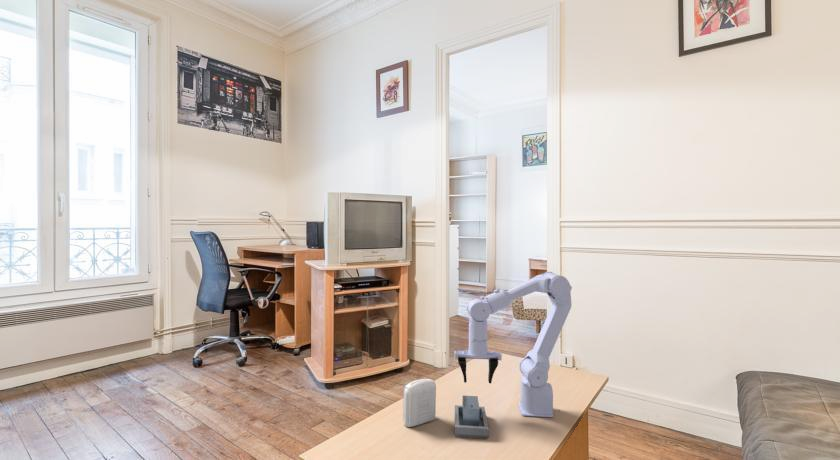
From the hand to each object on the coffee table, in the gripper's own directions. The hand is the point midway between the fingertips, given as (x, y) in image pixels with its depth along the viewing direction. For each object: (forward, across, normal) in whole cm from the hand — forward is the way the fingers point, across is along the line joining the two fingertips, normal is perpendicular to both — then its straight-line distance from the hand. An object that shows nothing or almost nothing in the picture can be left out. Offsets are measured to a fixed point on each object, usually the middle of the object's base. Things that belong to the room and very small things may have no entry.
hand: (477, 381), depth 121 cm
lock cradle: (+9, +3, +9) cm, 13 cm away
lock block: (+8, +3, +8) cm, 12 cm away
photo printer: (+10, +18, +8) cm, 21 cm away
